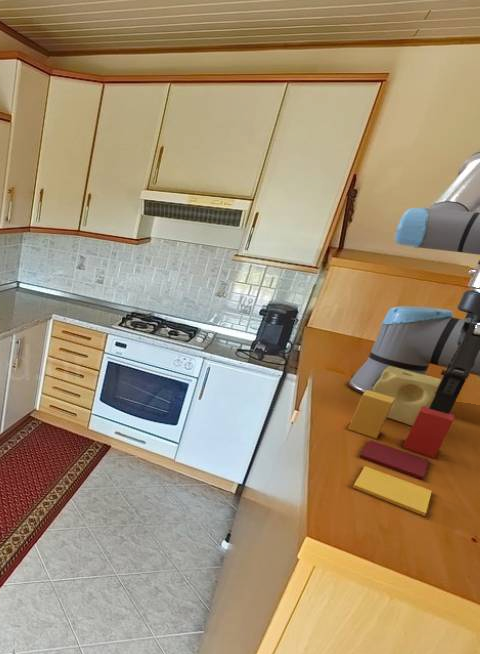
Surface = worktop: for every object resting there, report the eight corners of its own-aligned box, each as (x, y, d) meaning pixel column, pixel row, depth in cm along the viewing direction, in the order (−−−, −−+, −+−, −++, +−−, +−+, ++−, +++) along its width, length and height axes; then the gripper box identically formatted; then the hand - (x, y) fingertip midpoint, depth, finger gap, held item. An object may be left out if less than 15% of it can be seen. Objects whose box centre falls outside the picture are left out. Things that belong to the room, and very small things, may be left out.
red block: (405, 440, 99) (422, 405, 97) (436, 451, 96) (454, 414, 93) (402, 447, 96) (419, 410, 93) (434, 458, 93) (453, 420, 90)
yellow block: (352, 423, 105) (366, 389, 103) (380, 432, 102) (395, 397, 99) (348, 429, 102) (362, 394, 99) (376, 438, 99) (392, 402, 96)
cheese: (362, 410, 113) (378, 370, 110) (372, 401, 120) (389, 363, 117) (419, 429, 106) (439, 387, 103) (427, 418, 113) (446, 378, 110)
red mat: (368, 442, 97) (369, 439, 97) (427, 462, 91) (429, 459, 91) (359, 457, 90) (360, 454, 90) (422, 479, 84) (423, 477, 84)
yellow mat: (363, 468, 86) (365, 465, 86) (430, 493, 80) (432, 490, 80) (352, 487, 79) (354, 484, 79) (424, 516, 73) (426, 513, 73)
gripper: (468, 285, 96) (422, 384, 103) (463, 292, 79) (408, 409, 87) (522, 293, 91) (470, 397, 98) (529, 302, 75) (466, 426, 82)
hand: (441, 403), depth 93 cm, fingers open, 13 cm apart
